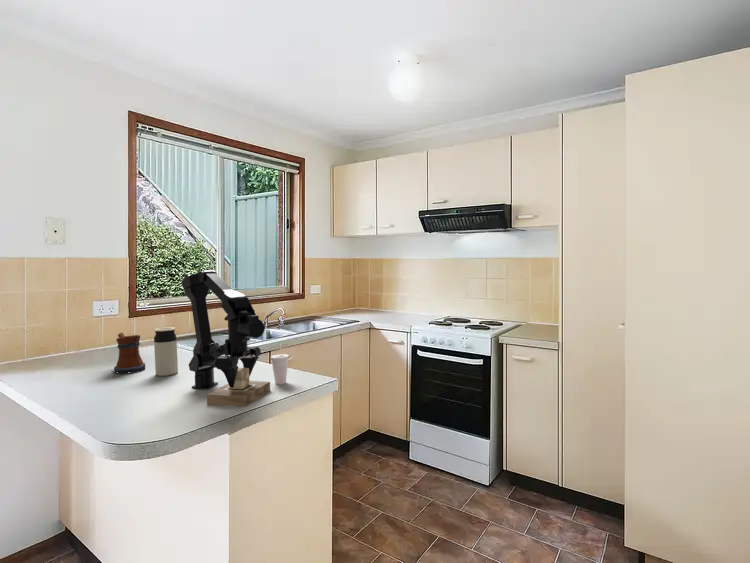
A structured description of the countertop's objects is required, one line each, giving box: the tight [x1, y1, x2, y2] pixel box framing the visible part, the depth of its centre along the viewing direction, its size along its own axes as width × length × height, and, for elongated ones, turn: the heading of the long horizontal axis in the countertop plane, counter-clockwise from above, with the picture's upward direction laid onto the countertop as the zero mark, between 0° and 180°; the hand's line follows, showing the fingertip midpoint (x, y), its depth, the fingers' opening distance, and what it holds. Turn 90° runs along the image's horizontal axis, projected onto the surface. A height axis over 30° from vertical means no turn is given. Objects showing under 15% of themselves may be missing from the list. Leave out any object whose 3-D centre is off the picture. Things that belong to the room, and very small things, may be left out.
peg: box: [230, 367, 250, 390], centre depth 139 cm, size 4×4×9 cm
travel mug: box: [153, 326, 179, 377], centre depth 170 cm, size 8×8×18 cm
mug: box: [113, 332, 146, 374], centre depth 179 cm, size 18×12×15 cm, turn 43°
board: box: [206, 380, 271, 407], centre depth 139 cm, size 16×13×3 cm
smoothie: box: [270, 343, 290, 385], centre depth 154 cm, size 6×6×14 cm
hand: (239, 383), depth 139 cm, fingers open, 9 cm apart
